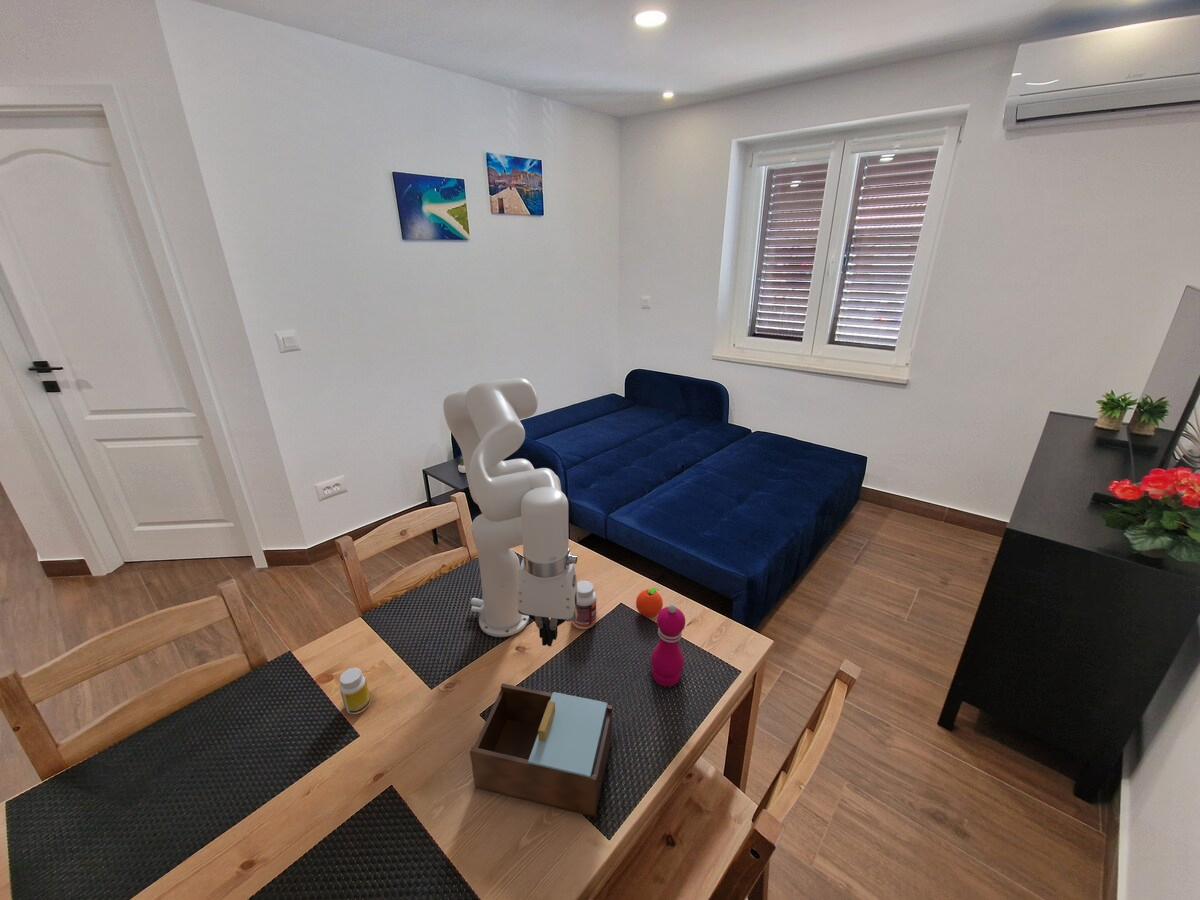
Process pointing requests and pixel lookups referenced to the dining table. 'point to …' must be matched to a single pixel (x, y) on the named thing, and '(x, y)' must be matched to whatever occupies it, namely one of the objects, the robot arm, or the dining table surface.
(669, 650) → the pepper mill
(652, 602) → the clementine
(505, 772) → the case
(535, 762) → the sliding box lid
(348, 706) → the supplement bottle
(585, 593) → the pill bottle
